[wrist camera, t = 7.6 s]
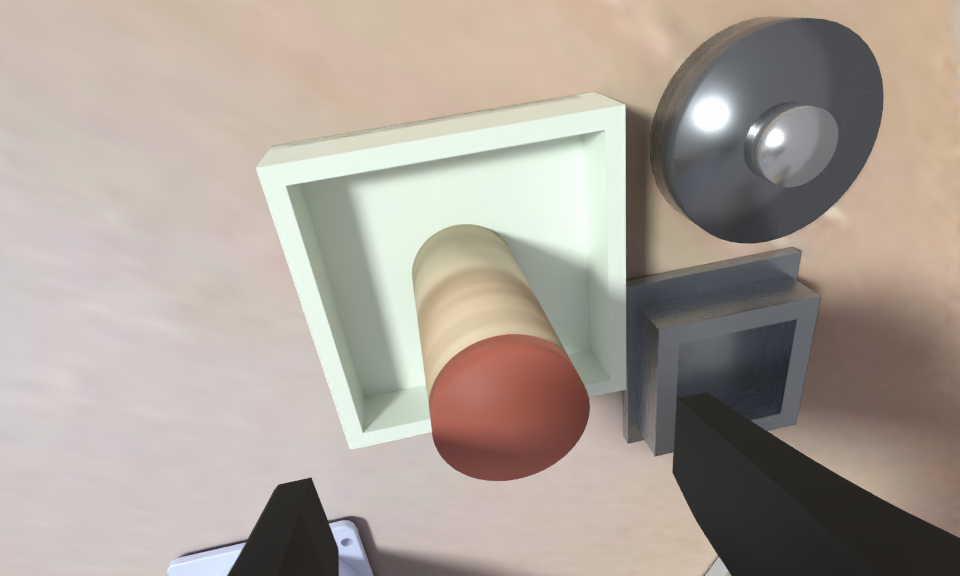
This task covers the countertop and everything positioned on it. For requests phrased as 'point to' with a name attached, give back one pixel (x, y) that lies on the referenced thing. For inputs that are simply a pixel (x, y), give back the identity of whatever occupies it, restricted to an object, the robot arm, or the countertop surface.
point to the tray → (443, 203)
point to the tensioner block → (717, 343)
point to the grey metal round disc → (766, 126)
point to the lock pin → (492, 360)
